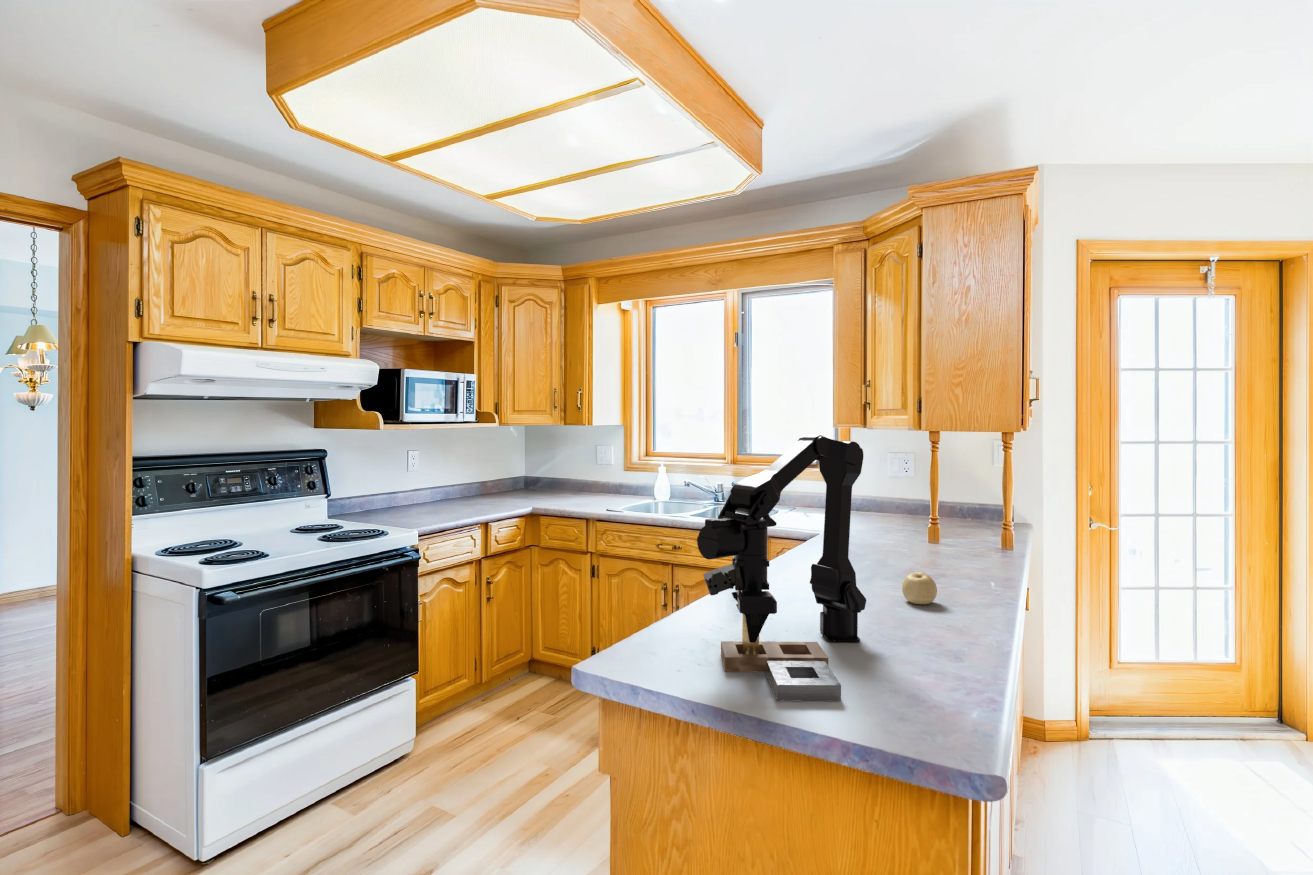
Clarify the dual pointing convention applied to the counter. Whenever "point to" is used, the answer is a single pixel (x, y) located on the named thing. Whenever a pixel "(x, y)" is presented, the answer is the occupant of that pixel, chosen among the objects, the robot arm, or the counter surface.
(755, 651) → the peg
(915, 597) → the apple
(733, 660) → the rack
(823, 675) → the socket block
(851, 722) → the counter surface
